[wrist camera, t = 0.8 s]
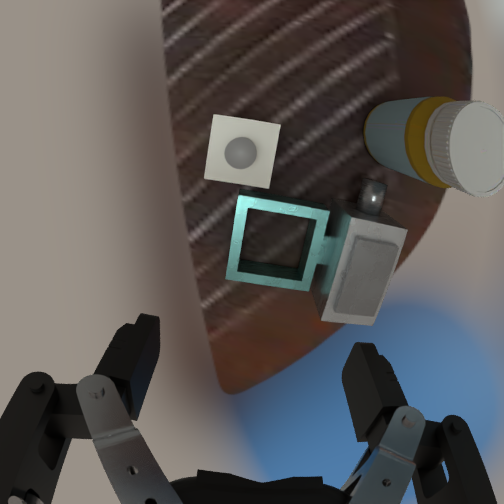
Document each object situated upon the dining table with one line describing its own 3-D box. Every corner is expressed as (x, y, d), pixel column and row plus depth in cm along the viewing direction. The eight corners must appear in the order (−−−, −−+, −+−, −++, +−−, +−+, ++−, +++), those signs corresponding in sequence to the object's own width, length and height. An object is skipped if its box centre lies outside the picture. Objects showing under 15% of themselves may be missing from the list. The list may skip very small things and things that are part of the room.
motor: (246, 151, 29) (243, 159, 22) (386, 181, 30) (421, 199, 23) (226, 272, 34) (219, 311, 27) (354, 290, 35) (375, 330, 28)
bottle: (356, 160, 29) (433, 191, 15) (366, 94, 27) (450, 77, 13) (414, 173, 30) (506, 213, 16) (424, 112, 27) (522, 116, 13)
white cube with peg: (222, 117, 28) (209, 113, 20) (274, 125, 28) (283, 124, 20) (215, 167, 30) (199, 183, 22) (265, 175, 30) (270, 194, 22)
